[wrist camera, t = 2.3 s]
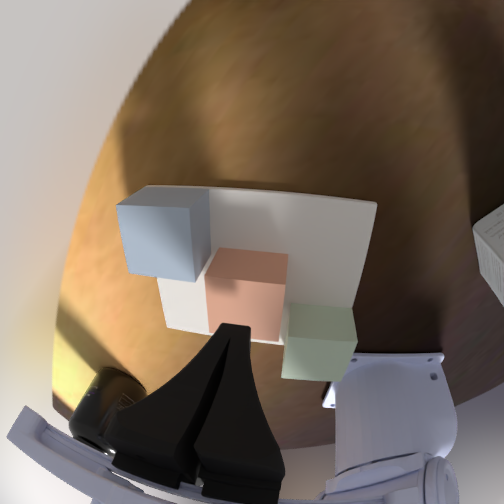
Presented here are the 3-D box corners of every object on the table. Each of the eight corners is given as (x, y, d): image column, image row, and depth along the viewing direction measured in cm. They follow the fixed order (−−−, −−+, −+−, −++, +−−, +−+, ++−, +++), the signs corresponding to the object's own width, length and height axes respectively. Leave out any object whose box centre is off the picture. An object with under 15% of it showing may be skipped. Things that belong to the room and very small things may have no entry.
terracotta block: (288, 254, 16) (285, 284, 13) (282, 308, 18) (278, 341, 15) (219, 247, 16) (204, 275, 14) (221, 300, 18) (209, 332, 16)
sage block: (351, 308, 17) (357, 341, 15) (338, 349, 19) (340, 381, 16) (290, 302, 18) (288, 336, 15) (284, 345, 20) (281, 377, 17)
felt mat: (375, 202, 14) (377, 204, 14) (338, 345, 19) (338, 349, 19) (147, 185, 16) (144, 187, 15) (169, 324, 21) (167, 327, 21)
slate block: (208, 188, 15) (189, 208, 12) (211, 253, 17) (195, 282, 14) (144, 187, 15) (115, 204, 13) (151, 247, 17) (129, 273, 15)
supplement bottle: (93, 357, 27) (45, 438, 16) (146, 379, 26) (103, 472, 16) (105, 387, 30) (68, 458, 20) (152, 406, 30) (119, 484, 19)
